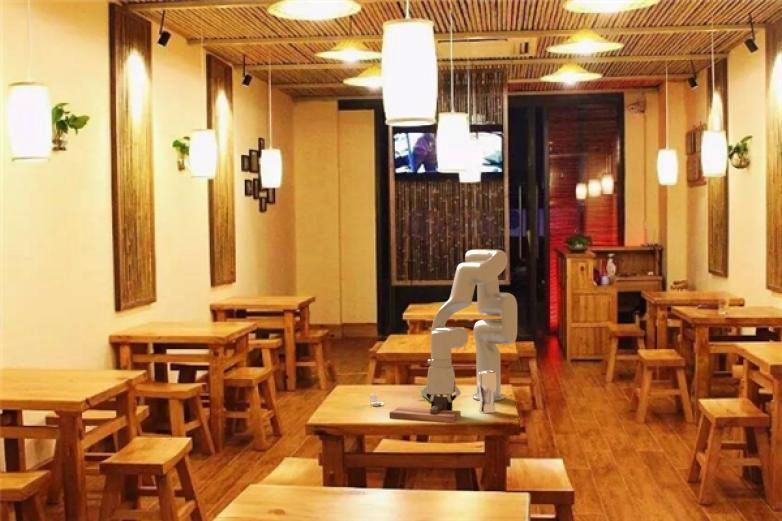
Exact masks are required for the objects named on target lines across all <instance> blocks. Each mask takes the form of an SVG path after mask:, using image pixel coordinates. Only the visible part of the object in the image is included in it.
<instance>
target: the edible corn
mask: <svg viewBox="0 0 782 521" xmlns="http://www.w3.org/2000/svg"><path fill="white" fill-rule="evenodd" d="M426 386H427V384H423V386H422V387H421V388H420V393H421V396H422V397H423V398H424V399H426V400H428V402H430V403H431V401H430V399H429V398H428V397H427V396H426V395H425V394H424V393H423V392H422V391H423V390H424V388H425V387H426ZM436 396H438V395H436Z"/></svg>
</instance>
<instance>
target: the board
mask: <svg viewBox="0 0 782 521" xmlns="http://www.w3.org/2000/svg"><path fill="white" fill-rule="evenodd" d="M430 409H431V408H419V407H405V406H403V407H402V406H399V407H396V408H394V409H393V410H391V411H389V419H398V420H399V419H400V420H411V419H412V420H413V421H414V420H415V421H426V422H427V421H429V422H441V423H443V422H444V423H454V422H455V421H456V420H458V419H459V418H460V417H461V414H462V413H461V410H453V409H452V410H440V411H439V412H437V413H436V414H430Z"/></svg>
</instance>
